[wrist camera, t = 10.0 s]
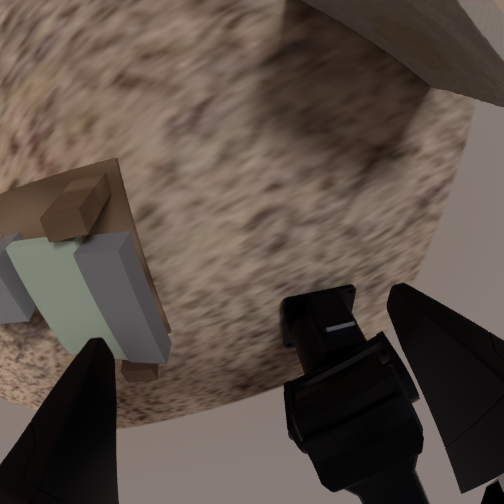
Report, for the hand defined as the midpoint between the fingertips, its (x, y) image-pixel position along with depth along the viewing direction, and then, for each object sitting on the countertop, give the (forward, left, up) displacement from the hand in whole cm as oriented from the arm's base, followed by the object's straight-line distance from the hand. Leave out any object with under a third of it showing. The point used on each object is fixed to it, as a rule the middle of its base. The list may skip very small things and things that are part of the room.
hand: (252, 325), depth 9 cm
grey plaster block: (+10, -11, -12) cm, 19 cm away
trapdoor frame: (-5, +11, -12) cm, 17 cm away
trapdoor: (-5, +9, -9) cm, 14 cm away
